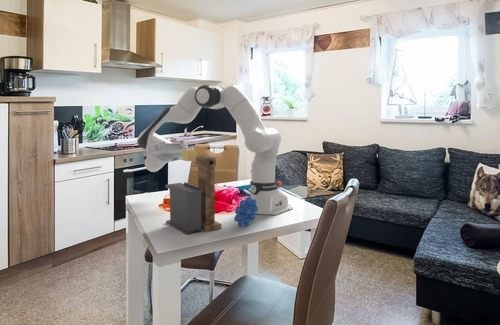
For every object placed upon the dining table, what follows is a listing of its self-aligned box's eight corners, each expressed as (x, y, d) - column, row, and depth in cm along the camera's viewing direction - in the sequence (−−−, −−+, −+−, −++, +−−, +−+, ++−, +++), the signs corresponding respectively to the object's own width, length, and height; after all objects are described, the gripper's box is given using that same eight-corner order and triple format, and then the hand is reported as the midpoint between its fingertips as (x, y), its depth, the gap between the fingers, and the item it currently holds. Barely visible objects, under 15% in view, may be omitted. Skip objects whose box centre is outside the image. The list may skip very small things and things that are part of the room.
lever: (233, 199, 212) (251, 197, 198) (231, 187, 212) (249, 184, 198) (242, 197, 216) (261, 195, 202) (240, 186, 217) (259, 182, 202)
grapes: (250, 220, 158) (251, 193, 156) (260, 224, 152) (261, 196, 151) (228, 225, 151) (228, 197, 149) (238, 229, 145) (238, 200, 143)
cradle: (181, 220, 157) (180, 180, 154) (202, 230, 143) (202, 187, 141) (165, 223, 152) (165, 182, 150) (186, 234, 139) (186, 190, 136)
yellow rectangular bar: (191, 159, 158) (191, 149, 157) (212, 163, 145) (212, 151, 144) (182, 160, 155) (181, 149, 155) (203, 163, 142) (203, 152, 142)
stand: (205, 221, 156) (204, 154, 151) (221, 228, 146) (221, 157, 142) (190, 224, 151) (190, 155, 147) (206, 232, 142) (206, 159, 138)
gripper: (140, 149, 174) (150, 137, 163) (179, 147, 186) (190, 135, 176) (143, 161, 172) (153, 149, 162) (182, 158, 185) (194, 147, 174)
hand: (173, 142), depth 169 cm, fingers open, 8 cm apart
